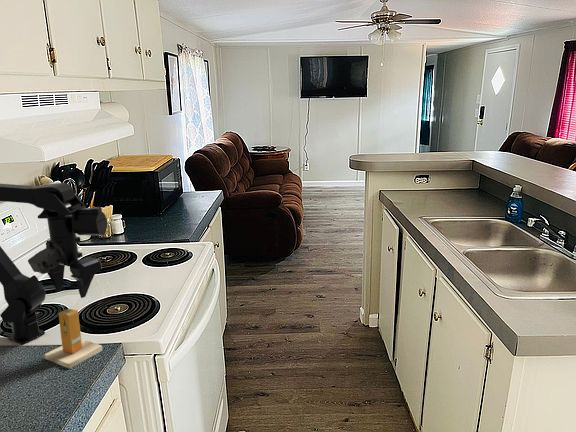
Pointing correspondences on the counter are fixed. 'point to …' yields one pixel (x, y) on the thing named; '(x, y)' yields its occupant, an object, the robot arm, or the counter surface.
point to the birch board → (75, 358)
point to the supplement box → (70, 330)
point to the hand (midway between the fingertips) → (71, 293)
